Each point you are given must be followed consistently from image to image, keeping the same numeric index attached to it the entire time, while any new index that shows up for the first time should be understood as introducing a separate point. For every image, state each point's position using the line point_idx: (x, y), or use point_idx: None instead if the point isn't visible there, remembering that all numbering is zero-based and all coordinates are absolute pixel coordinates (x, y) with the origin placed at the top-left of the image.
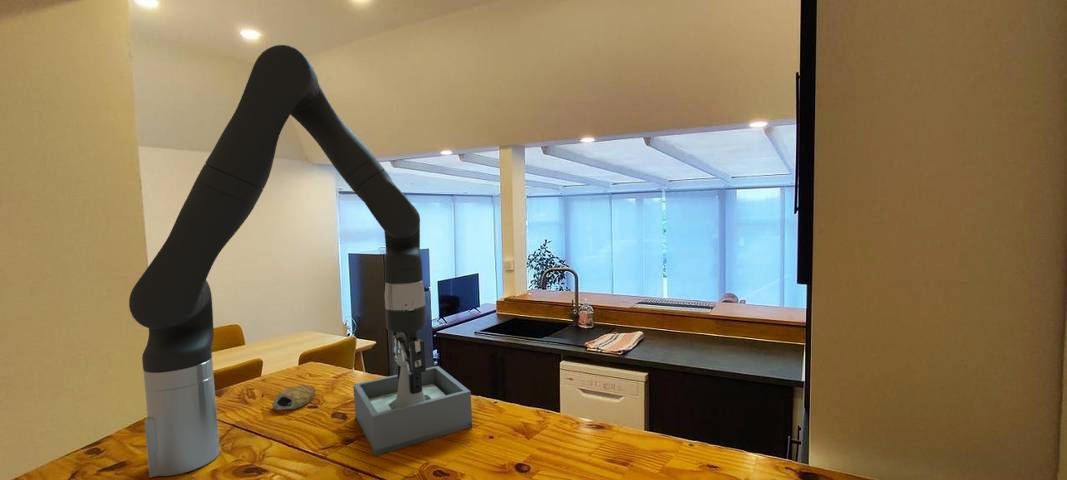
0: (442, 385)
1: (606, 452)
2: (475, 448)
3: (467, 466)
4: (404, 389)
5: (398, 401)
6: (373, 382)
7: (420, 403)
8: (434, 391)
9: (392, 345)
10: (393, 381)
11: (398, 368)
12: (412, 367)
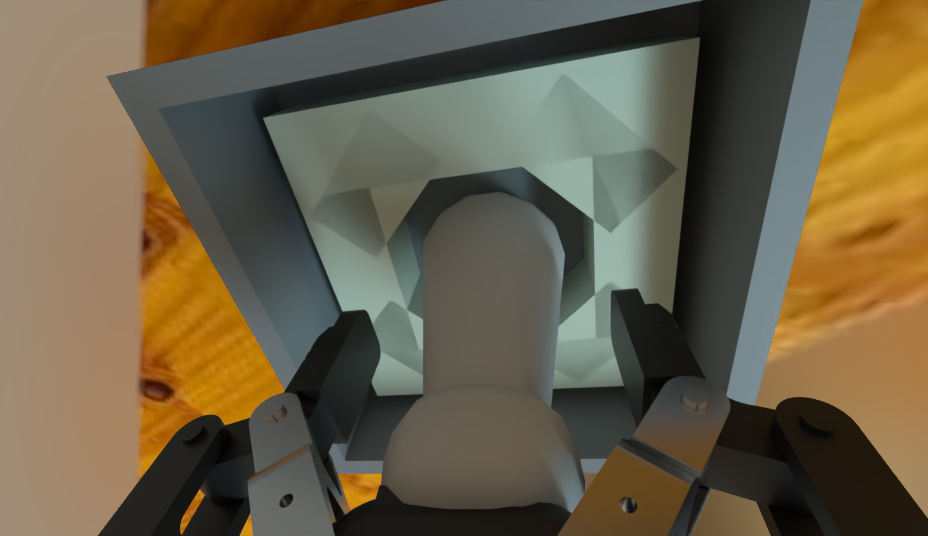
0: (595, 407)
1: (199, 497)
2: (251, 343)
3: (163, 306)
4: (433, 291)
5: (461, 225)
6: (780, 114)
7: (252, 319)
8: (563, 369)
9: (915, 515)
10: (740, 246)
11: (632, 345)
12: (150, 468)
